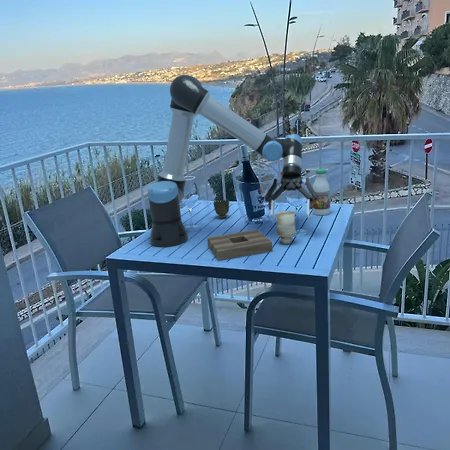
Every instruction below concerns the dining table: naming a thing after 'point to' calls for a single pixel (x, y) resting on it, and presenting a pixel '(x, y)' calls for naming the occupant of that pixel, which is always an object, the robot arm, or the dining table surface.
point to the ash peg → (285, 226)
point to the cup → (221, 208)
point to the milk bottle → (321, 193)
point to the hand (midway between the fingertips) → (289, 216)
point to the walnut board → (239, 244)
